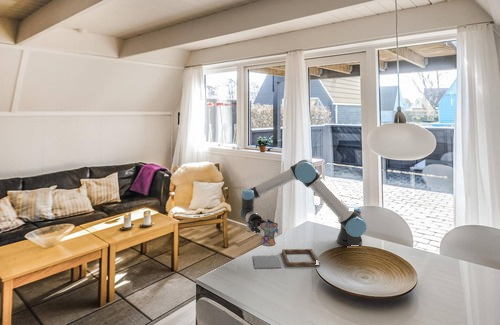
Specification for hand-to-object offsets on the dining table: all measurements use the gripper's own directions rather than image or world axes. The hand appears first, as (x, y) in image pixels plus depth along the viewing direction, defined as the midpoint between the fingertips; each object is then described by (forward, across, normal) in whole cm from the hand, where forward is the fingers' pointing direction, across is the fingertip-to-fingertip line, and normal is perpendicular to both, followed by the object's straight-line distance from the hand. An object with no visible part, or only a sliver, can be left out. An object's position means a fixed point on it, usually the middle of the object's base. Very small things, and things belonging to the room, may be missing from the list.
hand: (271, 232), depth 152 cm
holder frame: (-1, -19, -18) cm, 26 cm away
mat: (-4, 0, -18) cm, 19 cm away
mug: (-5, 0, -8) cm, 9 cm away
